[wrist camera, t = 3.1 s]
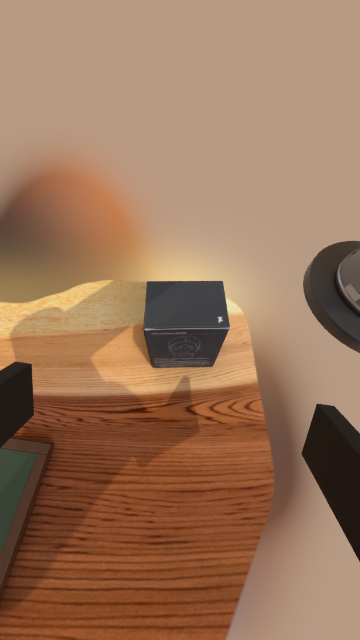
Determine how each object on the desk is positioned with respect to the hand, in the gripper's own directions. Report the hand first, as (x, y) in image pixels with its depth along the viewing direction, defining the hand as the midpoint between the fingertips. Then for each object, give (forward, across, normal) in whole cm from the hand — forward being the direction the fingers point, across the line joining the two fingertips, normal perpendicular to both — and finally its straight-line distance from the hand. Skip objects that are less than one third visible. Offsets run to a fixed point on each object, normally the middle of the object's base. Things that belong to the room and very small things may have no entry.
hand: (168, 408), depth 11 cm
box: (+20, 0, -5) cm, 21 cm away
